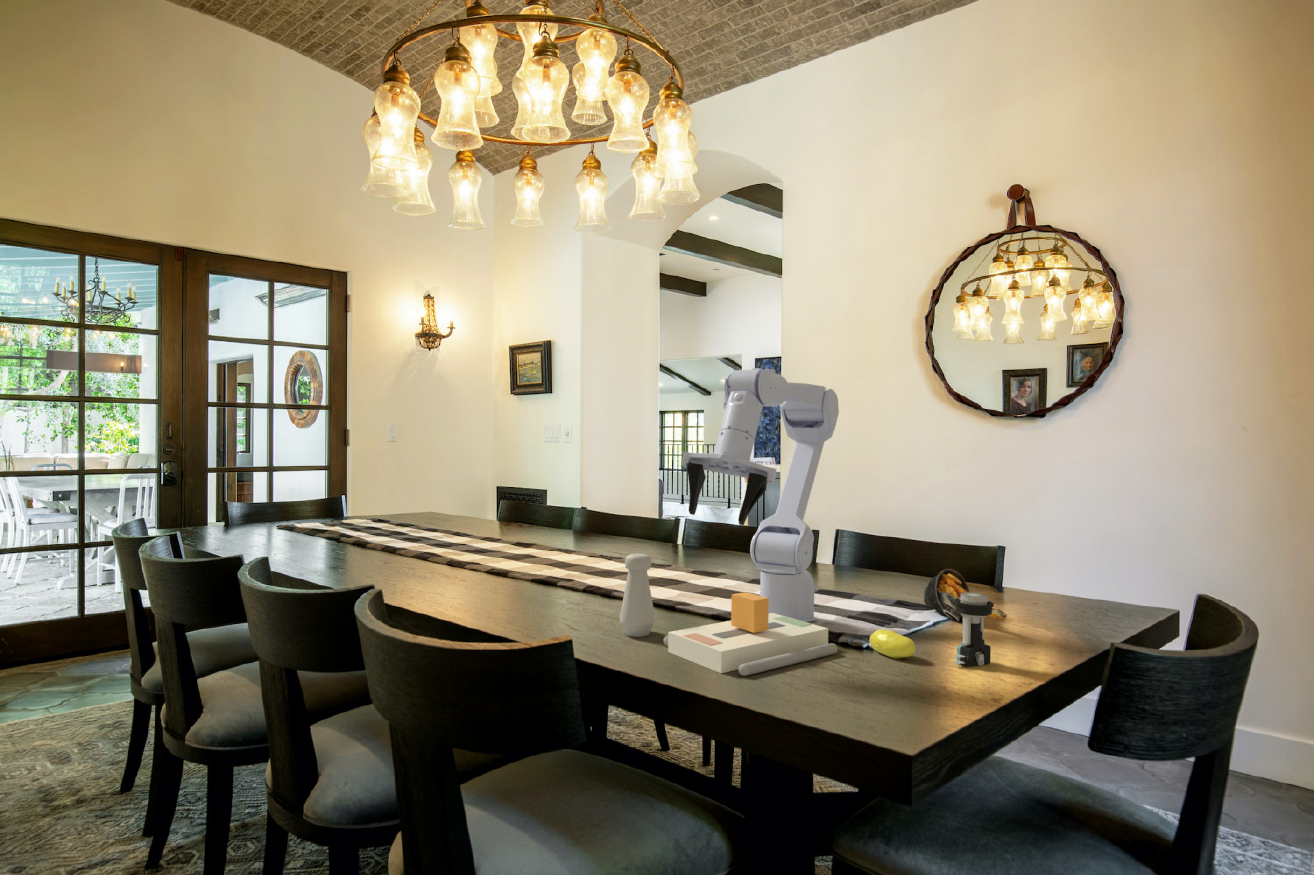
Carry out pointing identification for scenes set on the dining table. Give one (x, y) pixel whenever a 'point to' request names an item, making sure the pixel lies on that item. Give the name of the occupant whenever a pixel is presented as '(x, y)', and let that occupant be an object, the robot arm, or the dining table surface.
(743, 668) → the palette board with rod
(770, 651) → the breaker panel
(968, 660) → the push button
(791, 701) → the dining table surface
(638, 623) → the salt shaker
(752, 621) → the block
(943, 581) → the fried shrimp in bowl
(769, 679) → the dining table surface
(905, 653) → the lemon
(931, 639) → the dining table surface
